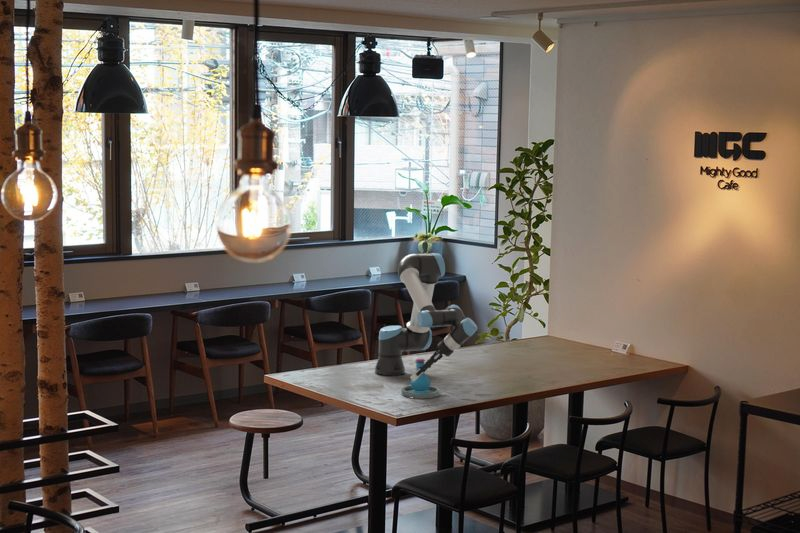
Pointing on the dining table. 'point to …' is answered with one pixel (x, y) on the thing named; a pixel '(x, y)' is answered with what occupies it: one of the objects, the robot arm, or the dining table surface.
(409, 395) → the round dish
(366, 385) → the dining table surface
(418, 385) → the perfume bottle
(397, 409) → the dining table surface
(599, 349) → the dining table surface
